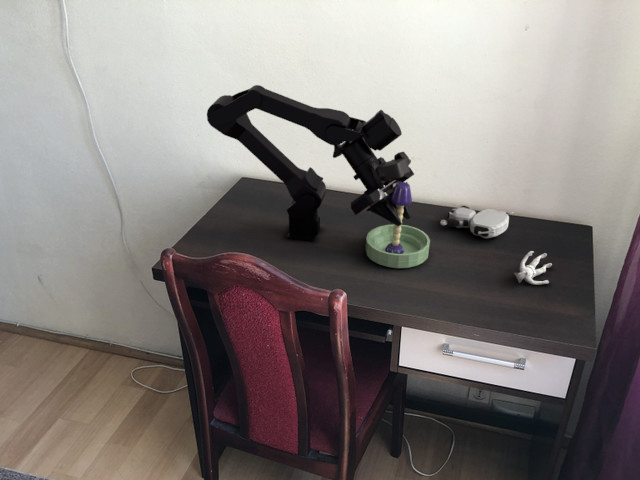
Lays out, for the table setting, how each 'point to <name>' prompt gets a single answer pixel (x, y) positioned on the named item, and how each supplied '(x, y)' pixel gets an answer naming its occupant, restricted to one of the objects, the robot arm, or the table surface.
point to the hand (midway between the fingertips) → (404, 221)
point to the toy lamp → (399, 214)
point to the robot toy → (478, 221)
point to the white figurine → (532, 270)
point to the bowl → (410, 240)
